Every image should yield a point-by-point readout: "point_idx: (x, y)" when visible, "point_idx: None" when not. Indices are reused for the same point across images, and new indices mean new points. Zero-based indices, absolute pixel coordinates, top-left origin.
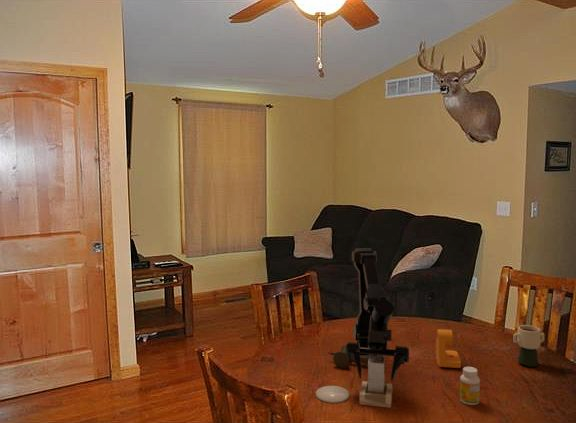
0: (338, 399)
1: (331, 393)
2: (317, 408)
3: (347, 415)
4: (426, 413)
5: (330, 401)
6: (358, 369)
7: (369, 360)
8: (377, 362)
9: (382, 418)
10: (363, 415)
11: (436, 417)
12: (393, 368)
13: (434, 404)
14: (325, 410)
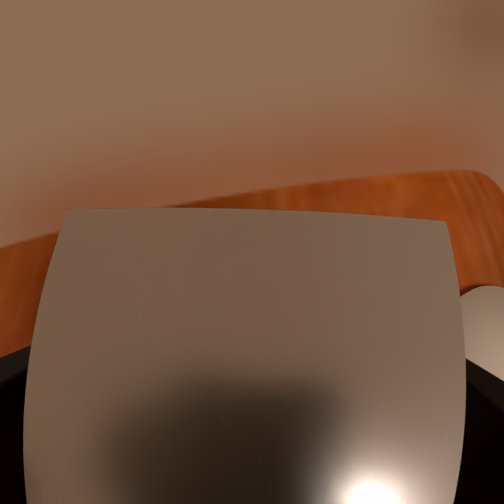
0: (463, 310)
1: (500, 364)
2: (500, 233)
3: (388, 195)
4: (43, 270)
5: (485, 287)
6: (486, 373)
7: (442, 347)
8: (197, 247)
9: (230, 195)
10: (320, 204)
11: (26, 246)
12: (8, 368)
13: (2, 349)
14: (474, 222)
